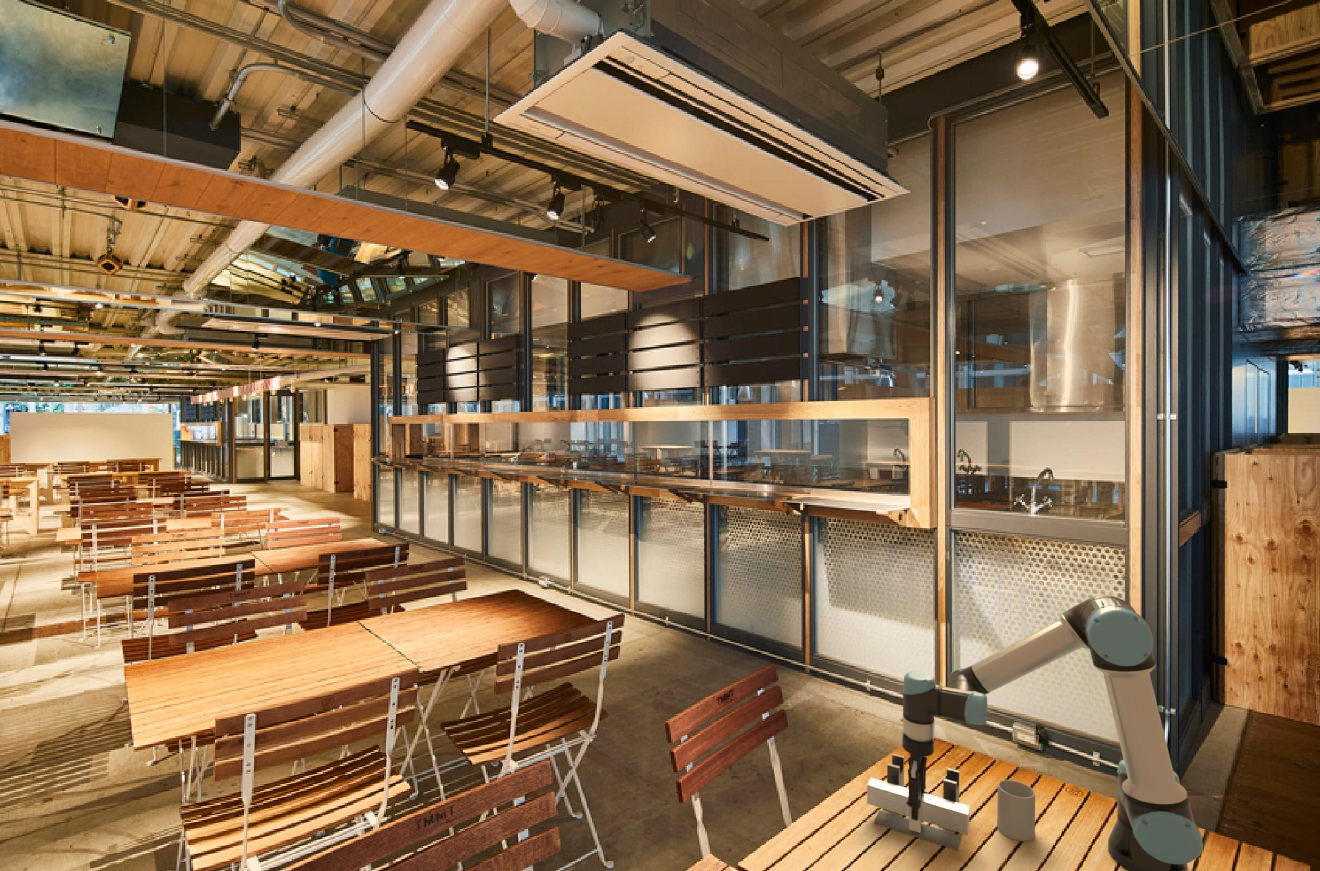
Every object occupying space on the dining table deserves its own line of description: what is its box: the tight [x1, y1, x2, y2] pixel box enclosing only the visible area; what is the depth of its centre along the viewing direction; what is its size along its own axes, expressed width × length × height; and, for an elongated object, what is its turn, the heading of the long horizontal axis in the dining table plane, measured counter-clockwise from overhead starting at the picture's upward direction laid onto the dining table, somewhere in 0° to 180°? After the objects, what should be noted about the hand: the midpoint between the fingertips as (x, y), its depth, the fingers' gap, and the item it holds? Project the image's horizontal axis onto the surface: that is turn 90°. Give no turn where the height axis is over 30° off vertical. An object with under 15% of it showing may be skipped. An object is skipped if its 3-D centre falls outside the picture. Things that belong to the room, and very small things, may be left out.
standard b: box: [886, 753, 905, 813], centre depth 174 cm, size 5×8×12 cm, turn 149°
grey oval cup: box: [996, 779, 1036, 842], centre depth 164 cm, size 12×8×11 cm
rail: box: [866, 777, 970, 836], centre depth 162 cm, size 24×4×5 cm, turn 59°
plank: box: [873, 809, 962, 851], centre depth 162 cm, size 20×6×1 cm, turn 59°
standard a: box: [942, 767, 960, 803], centre depth 166 cm, size 5×8×12 cm, turn 148°
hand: (916, 825), depth 162 cm, fingers closed on rail, 4 cm apart
